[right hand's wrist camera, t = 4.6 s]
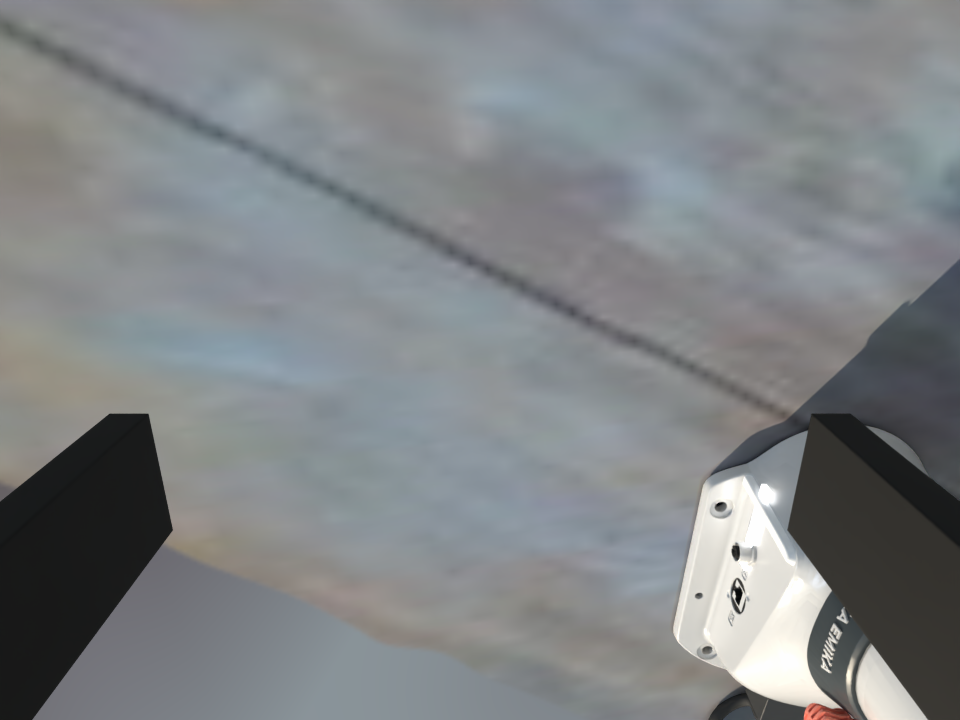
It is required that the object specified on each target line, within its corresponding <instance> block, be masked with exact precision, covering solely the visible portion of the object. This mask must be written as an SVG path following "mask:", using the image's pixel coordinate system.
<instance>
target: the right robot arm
mask: <svg viewBox="0 0 960 720" xmlns="http://www.w3.org/2000/svg"><path fill="white" fill-rule="evenodd" d="M172 531H173V529H172V524H171V519H170V514H169V510H168V505H167V500H166V495H165V490H164V486H163V481H162V476H161V471H160V467H159V462H158V457H157V452H156V448H155V443H154V438H153V433H152V429H151V424H150V419H149V414H109V415H107V416H106V417H105V418H104V419H103V420H101V421H100V422H99V423H98V424H96V425H95V426H94V427H93V428H91V429H90V430H89V431H88V432H86V433H85V434H84V435H83V436H81V437H80V438H79V439H78V440H76V441H75V442H74V443H73V444H71V445H70V446H69V447H68V448H66V449H65V450H64V451H63V452H61V453H60V454H59V455H58V456H56V457H55V458H54V459H53V460H51V461H50V462H49V463H48V464H47V465H45V466H44V467H43V468H42V469H40V470H39V471H38V472H37V473H35V474H34V475H33V476H32V477H30V478H29V479H28V480H27V481H25V482H24V483H23V484H22V485H20V486H19V487H18V488H17V489H15V490H14V491H13V492H12V493H10V494H9V495H8V496H7V497H5V498H4V499H3V500H2V501H1V502H0V720H32V719H33V718H34V716H35V715H36V714H37V713H38V711H39V710H40V708H41V707H42V706H43V704H44V703H45V702H46V700H47V699H48V698H49V696H50V695H51V694H52V692H53V691H54V690H55V688H56V687H57V686H58V684H59V683H60V682H61V680H62V679H63V677H64V676H65V675H66V673H67V672H68V671H69V669H70V668H71V667H72V665H73V664H74V663H75V661H76V660H77V659H78V657H79V656H80V655H81V653H82V652H83V651H84V649H85V648H86V646H87V645H88V644H89V642H90V641H91V640H92V638H93V637H94V636H95V634H96V633H97V632H98V630H99V629H100V628H101V626H102V625H103V624H104V622H105V621H106V620H107V618H108V617H109V615H110V614H111V613H112V611H113V610H114V609H115V607H116V606H117V605H118V603H119V602H120V601H121V599H122V598H123V597H124V595H125V594H126V592H127V591H128V590H129V589H130V587H131V586H132V584H133V583H134V582H135V580H136V579H137V578H138V576H139V575H140V574H141V572H142V571H143V570H144V568H145V567H146V566H147V564H148V563H149V561H150V560H151V559H152V558H153V556H154V555H155V553H156V552H157V551H158V549H159V548H160V547H161V545H162V544H163V543H164V541H165V540H166V539H167V537H168V536H169V535H170V533H171V532H172ZM787 531H788V532H789V533H790V535H791V536H792V537H793V539H794V540H795V541H796V543H797V544H798V545H799V547H800V548H801V549H802V551H803V552H804V553H805V555H806V556H807V558H808V559H809V560H810V562H811V563H812V564H813V566H814V567H815V568H816V570H817V571H818V572H819V574H820V575H821V576H822V578H823V579H824V580H825V582H826V583H827V584H828V586H829V587H830V589H831V590H832V591H833V593H834V594H835V595H836V597H837V598H838V599H839V601H840V602H841V603H842V605H843V606H844V607H845V609H846V610H847V611H848V613H849V614H850V615H851V617H852V618H853V620H854V621H855V622H856V624H857V625H858V626H859V628H860V629H861V630H862V632H863V633H864V634H865V636H866V637H867V638H868V640H869V641H870V642H871V644H872V645H873V646H874V648H875V649H876V651H877V652H878V653H879V655H880V656H881V657H882V659H883V660H884V661H885V663H886V664H887V665H888V667H889V668H890V669H891V671H892V672H893V673H894V675H895V676H896V677H897V679H898V680H899V682H900V683H901V684H902V686H903V687H904V688H905V690H906V691H907V692H908V694H909V695H910V696H911V698H912V699H913V700H914V702H915V703H916V704H917V706H918V707H919V708H920V710H921V711H922V713H923V714H924V715H925V717H926V718H927V719H928V720H960V501H958V500H957V499H956V498H955V497H953V496H952V495H951V494H950V493H948V492H947V491H946V490H945V489H943V488H942V487H941V486H940V485H938V484H937V483H936V482H935V481H933V480H932V479H931V478H930V477H928V476H927V475H926V474H925V473H923V472H922V471H921V470H920V469H918V468H917V467H916V466H915V465H913V464H912V463H911V462H910V461H909V460H907V459H906V458H905V457H904V456H902V455H901V454H900V453H899V452H897V451H896V450H895V449H894V448H892V447H891V446H890V445H889V444H887V443H886V442H885V441H884V440H882V439H881V438H880V437H879V436H877V435H876V434H875V433H874V432H872V431H871V430H870V429H869V428H867V427H866V426H865V425H864V424H862V423H861V422H860V421H859V420H857V419H856V418H855V417H854V416H853V415H851V414H811V419H810V424H809V429H808V433H807V438H806V443H805V448H804V452H803V457H802V462H801V467H800V471H799V476H798V481H797V486H796V490H795V495H794V500H793V505H792V510H791V514H790V519H789V524H788V529H787Z"/></svg>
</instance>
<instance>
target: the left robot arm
mask: <svg viewBox="0 0 960 720" xmlns="http://www.w3.org/2000/svg"><path fill="white" fill-rule="evenodd" d="M866 427H867V428H869V429H870V430H871V431H872V432H874V433H875V434H876V435H877V436H879V437H880V438H881V439H882V440H884V441H885V442H886V443H887V444H889V445H890V446H891V447H892V448H894V449H895V450H896V451H897V452H899V453H900V454H901V455H902V456H904V457H905V458H906V459H907V460H909V461H910V462H911V463H912V464H913V465H915V466H916V467H917V468H918V469H920V470H921V471H922V472H923V473H925V474H926V475H927V476H928V477H929V475H928V474H927V472H926V470H925V468H924V467H923V465H922V463H921V461H920V459H919V458H918V456H917V455H916V453H915V452H914V451H913V450H912V449H911V448H910V447H909V446H908V445H907V444H906V443H905V442H904V441H902V440H901V439H899V438H898V437H896V436H894V435H893V434H891V433H888V432H886V431H884V430H881V429H878V428H874V427H870V426H866ZM807 433H808V430H807V431H804V432H801V433H799V434H796V435H794V436H792V437H790V438H788V439H786V440H784V441H782V442H780V443H778V444H777V445H775V446H774V447H772V448H771V449H769V450H768V451H766V452H765V453H763V454H762V455H760V456H759V457H758V458H756V459H754V460H753V461H751V462H749V463H747V464H743V465H739V466H736V467H732V468H729V469H726V470H723V471H720V472H717V473H715V474H713V475H712V476H710V477H709V478H708V479H707V480H706V481H705V483H704V485H703V489H702V493H701V498H700V503H699V507H698V512H697V517H696V522H695V526H694V531H693V536H692V541H691V545H690V550H689V555H688V560H687V564H686V569H685V574H684V579H683V583H682V588H681V593H680V597H679V602H678V607H677V612H676V617H675V622H674V628H673V633H674V635H675V637H676V639H677V641H678V642H679V643H680V644H681V646H683V647H684V648H685V649H686V650H687V651H688V652H690V653H691V654H693V655H694V656H696V657H697V658H699V659H701V660H703V661H705V662H707V663H710V664H712V665H715V666H717V667H720V668H723V669H727V670H728V672H729V673H730V674H731V675H732V676H733V677H734V678H735V679H736V680H737V681H738V682H739V683H741V684H742V685H743V686H745V687H746V690H745V691H746V693H747V694H740V695H737V696H734V697H732V698H730V699H728V700H726V701H724V702H723V703H721V704H720V705H719V706H718V707H717V708H716V709H715V710H714V711H713V712H712V714H711V716H710V718H709V720H723V718H724V717H725V716H726V715H728V714H729V713H730V712H732V711H733V710H735V709H737V708H740V707H744V706H750V707H751V709H752V711H753V714H754V716H755V718H756V720H928V719H927V718H926V717H925V715H924V714H923V713H922V711H921V710H920V708H919V707H918V706H917V704H916V703H915V702H914V700H913V699H912V698H911V696H910V695H909V694H908V692H907V691H906V690H905V688H904V687H903V686H902V684H901V683H900V682H899V680H898V679H897V677H896V676H895V675H894V673H893V672H892V671H891V669H890V668H889V667H888V665H887V664H886V663H885V661H884V660H883V659H882V657H881V656H880V655H879V653H878V652H877V651H876V649H875V648H874V646H873V645H872V644H871V642H870V641H869V640H868V638H867V637H866V636H865V634H864V633H863V632H862V630H861V629H860V628H859V626H858V625H857V624H856V622H855V621H854V620H853V618H852V617H851V615H850V614H849V613H848V611H847V610H846V609H845V607H844V606H843V605H842V603H841V602H840V601H839V599H838V598H837V597H836V595H835V594H834V593H833V591H832V590H831V589H830V587H829V586H828V584H827V583H826V582H825V580H824V579H823V578H822V576H821V575H820V574H819V572H818V571H817V570H816V568H815V567H814V566H813V564H812V563H811V562H810V560H809V559H808V558H807V556H806V555H805V553H804V552H803V551H802V549H801V548H800V547H799V545H798V544H797V543H796V541H795V540H794V539H793V537H792V536H791V535H790V533H789V532H788V531H787V529H788V524H789V519H790V514H791V510H792V505H793V500H794V495H795V490H796V486H797V481H798V476H799V471H800V467H801V462H802V457H803V452H804V448H805V443H806V438H807ZM719 502H723V503H722V504H721V505H720V506H715V505H716V504H717V503H719ZM706 646H707V647H706ZM848 713H849V714H850V715H851V716H853V718H854V719H852V718H851V717H850V715H849V714H848Z"/></svg>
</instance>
